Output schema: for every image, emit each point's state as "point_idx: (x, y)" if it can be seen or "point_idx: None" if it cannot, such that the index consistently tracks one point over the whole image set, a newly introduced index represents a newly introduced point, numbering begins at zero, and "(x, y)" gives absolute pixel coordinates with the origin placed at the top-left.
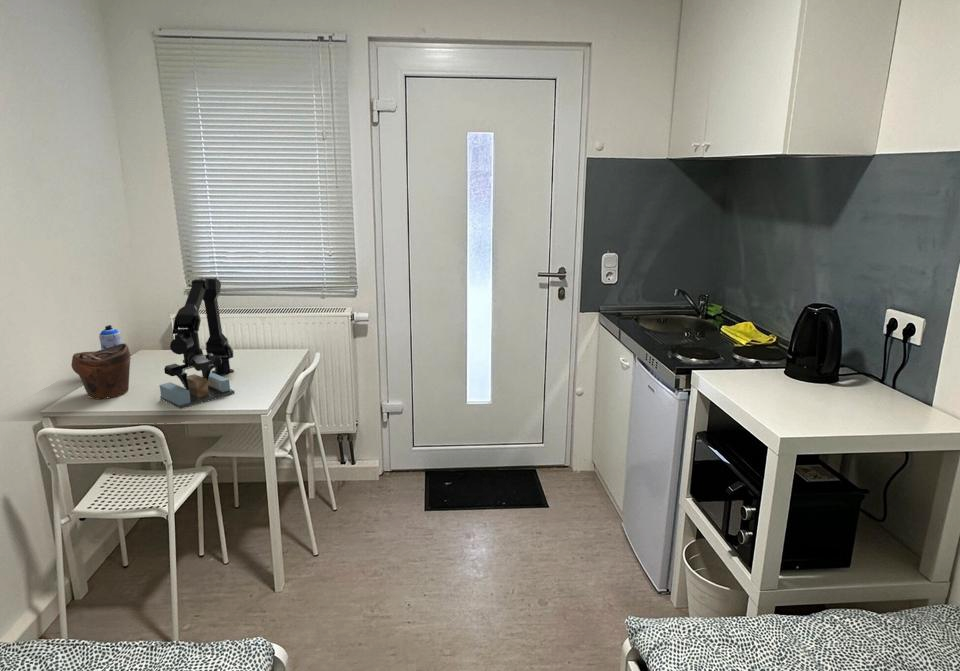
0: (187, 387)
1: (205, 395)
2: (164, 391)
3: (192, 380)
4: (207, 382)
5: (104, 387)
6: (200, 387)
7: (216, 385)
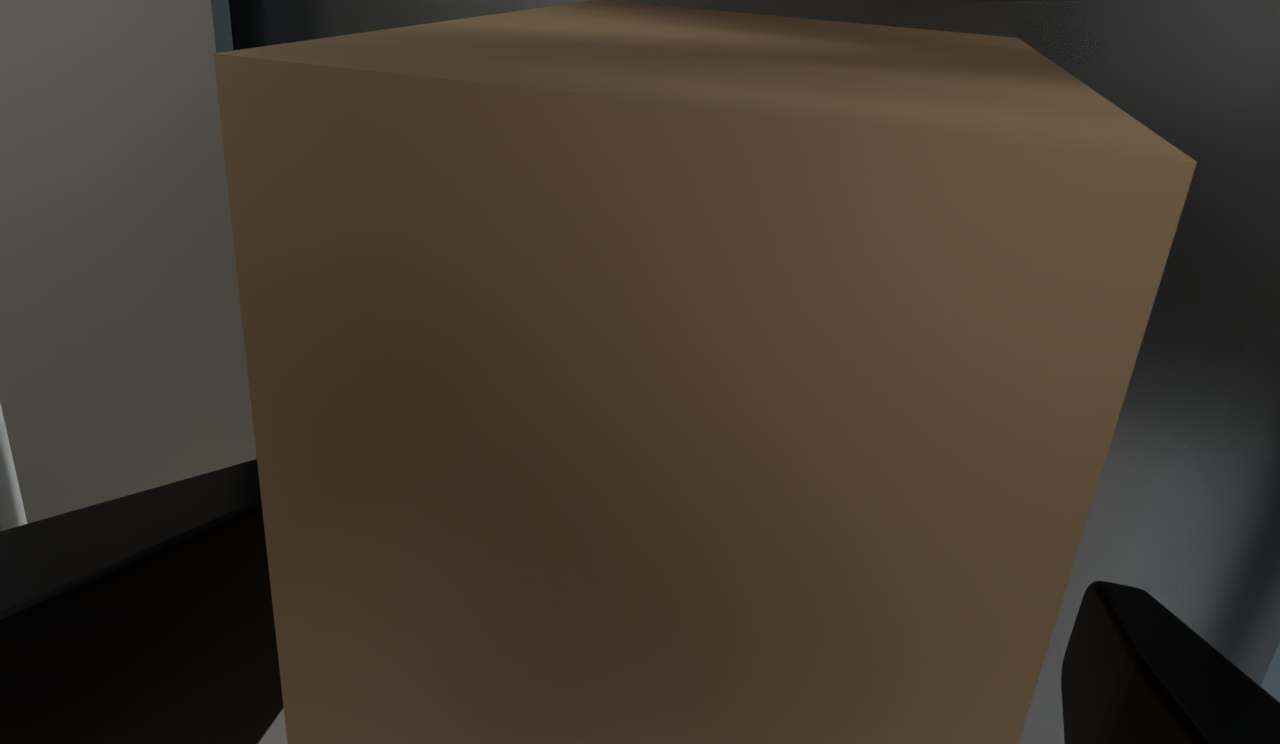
0: (1182, 647)
1: (723, 14)
2: None
3: (1015, 720)
4: None
5: None
6: (858, 58)
7: (128, 80)
